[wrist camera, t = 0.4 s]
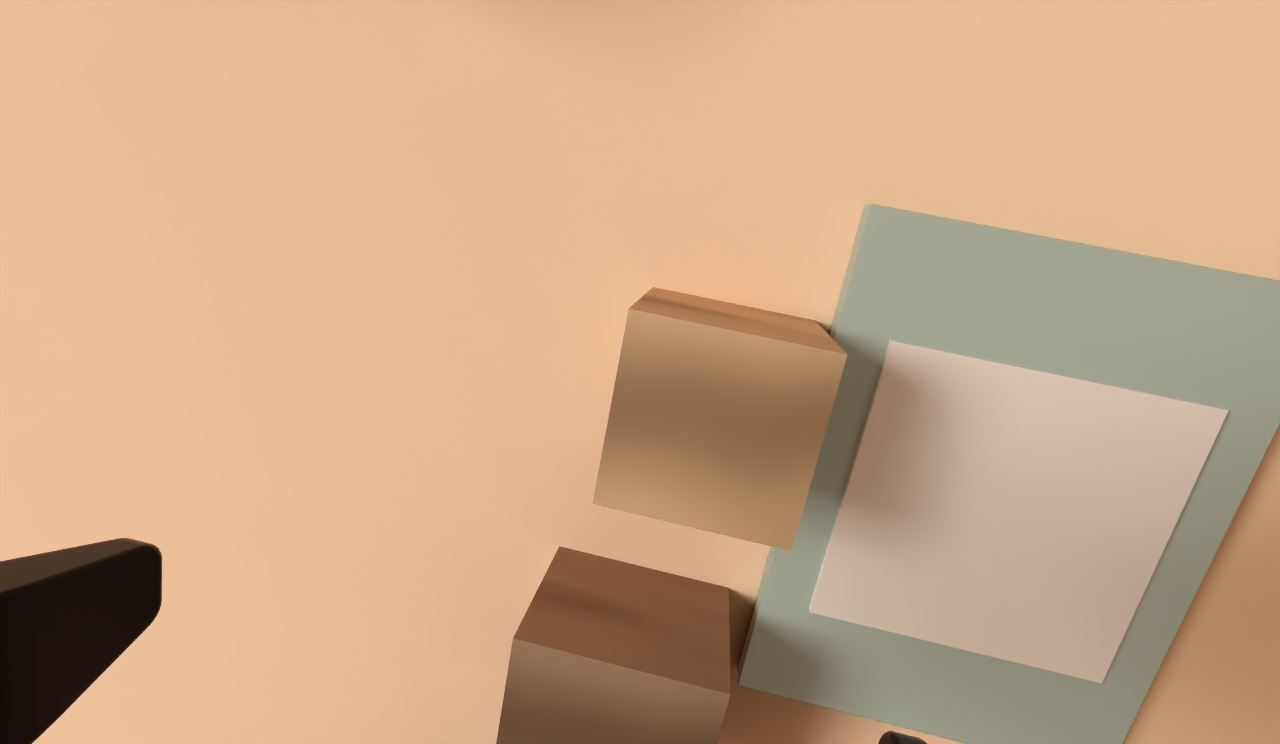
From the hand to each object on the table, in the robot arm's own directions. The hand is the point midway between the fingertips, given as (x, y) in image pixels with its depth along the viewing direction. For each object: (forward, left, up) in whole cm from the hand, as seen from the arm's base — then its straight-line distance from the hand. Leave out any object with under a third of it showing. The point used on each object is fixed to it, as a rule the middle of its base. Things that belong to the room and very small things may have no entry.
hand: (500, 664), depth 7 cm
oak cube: (+1, -2, -13) cm, 13 cm away
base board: (-1, -11, -13) cm, 17 cm away
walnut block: (-9, -1, -13) cm, 16 cm away
